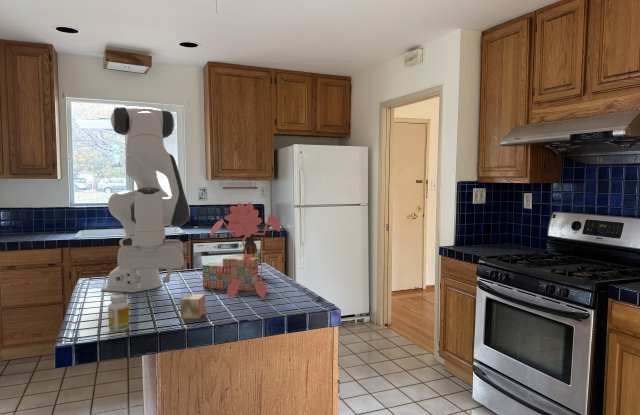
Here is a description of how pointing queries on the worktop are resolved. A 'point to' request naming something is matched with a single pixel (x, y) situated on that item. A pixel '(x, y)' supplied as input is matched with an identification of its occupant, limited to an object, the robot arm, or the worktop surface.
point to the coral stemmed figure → (245, 223)
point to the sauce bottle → (250, 247)
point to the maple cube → (192, 305)
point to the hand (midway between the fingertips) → (151, 282)
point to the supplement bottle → (118, 313)
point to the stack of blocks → (231, 273)
